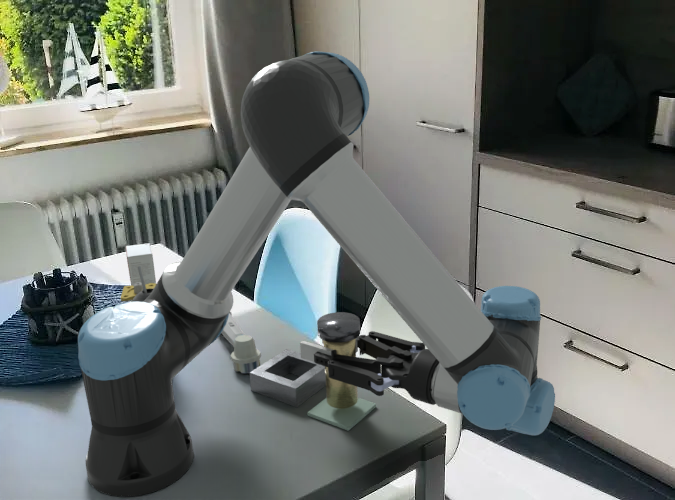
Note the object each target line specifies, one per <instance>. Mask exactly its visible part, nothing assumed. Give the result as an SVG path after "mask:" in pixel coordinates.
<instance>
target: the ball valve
mask: <svg viewBox="0 0 675 500" xmlns="http://www.w3.org/2000/svg"><path fill="white" fill-rule="evenodd" d="M156 284H157V282H156V283H149V284H145V286H146V289H154V287H155V286H156ZM142 290H143V287H142V283H140V282H137V283H135V284H134V286H132V285H131V284H130V285H124V286H123V288H122V292H121V295H120V301H121V302H132V301H133V298H134V297H135V296H136V295H137V294H138V293H139V292H140V291H142Z"/></svg>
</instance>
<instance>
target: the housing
mask: <svg viewBox="0 0 675 500" xmlns="http://www.w3.org/2000/svg"><path fill="white" fill-rule="evenodd" d="M288 374H292V375H294V376H298V378H296V379H295V380H291V379H288V378H286V377H285V376H286V375H288ZM249 382H250V391H251V392H254V393H257V394H260V395H262V396H264V397H268V398H269V399H273V400H276V401H279V402H281V403H284V404H287V405H290V406H291V407H292V406H293V407H295V408H298V407H299V406H301V405H303V404H304V402H306V401H307V400H309V399H310V398H312V396H314V395H315V394H316V393H318V392H320V391H321V390H322V389H324V388H326V379H325V366H322V365H319V364H316V363H315V362H313V361H310V360H306V359H303V358H301V352H298V351H294V350H291V349H287V348H286V349H285V350H283V351H281V352H280V353H278V354H276V355H275V356H273V357H272V358H270V359H268V360H267V361H266V362H263V363H262V364H260V366H259V367H258V368H256V369H254V370H253V371H251V372H250V373H249Z"/></svg>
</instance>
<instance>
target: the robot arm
mask: <svg viewBox="0 0 675 500" xmlns="http://www.w3.org/2000/svg"><path fill="white" fill-rule="evenodd" d="M369 107H370V91H369V87H368V83H367V81H366V78H365V76H364V75H363V73H362V71H361V70H360V69H359V68H358V67H357V65H356V64H355V63H354V62H353V61H351V60H350V59H348V58H347V57H345V56H343V55H342V54H341V55H340V54H338V53H335V52H329V51H310V52H307V53H305V54H303V55H300V56H296V57H293V58H291V59H284V60H280V61H276V62H273V63H271V64H269V65H266V66H265V67H263V68H262V69H261V70H260V71H258V72H257V73H256V74H255V75H254V76H253V77H252V78H251V80H250V81H249V83H248V84H247V85H246V88H245V90H244V93H243V95H242V99H241V105H240V120H241V127H242V130H243V134H244V136H245V139H246V141H247V143H248V146H249V148H248V149H247V150H246V152H245V154H244V156H243V158H242V159H241V161H240V163H239V164H238V166H237V167H236V169H235V171H234V172H233V175H232V176H231V177H230V179H229V181H228V183H227V184H226V186H225V188H224V190H223V191H222V193H221V195H220V196H219V198H218V199H217V201H216V203H215V205H214V207H213V208H212V209H211V211H210V213H209V215H208V216H207V217H206V220H205V221H204V224H203V225H202V226H201V228H200V230H199V232H198V233H197V235H196V236H195V238H194V240H193V241H192V243H191V245H190V246H189V248H188V250H187V252H186V253H185V255H184V257H183V258H182V260H181V261H177V262H173V263H171V264H169V265H167V266H166V267H165V269H164V270H163V272H162V274H161V276H160V277H159V279H158V281H156V286H155V287H154V289H153V291H152V292H151V294H150V295H149V296H148V297H147V298H146V299H145V300H144V301H143V302H139V301H133V302H131V301H123V302H121V303H117V304H115V306H111V307H110V306H108V307H105V308H103V309H101V310H99V311H98V312H96V313H94V314H93V315H92V316H90V317H89V318H88V319H87V320H86V321H85V322H84V323H83V324H82V326H81V327H80V329H79V331H78V335H77V345H78V346H77V349H78V357H77V358H78V363H79V364H78V365H79V367H80V370H81V374H82V376H81V377H82V381H83V386H84V391H85V397H86V402H87V407H88V412H89V417H90V421H91V422H90V423H91V431H90V437H89V441H88V443H89V444H88V451H87V452H86V457H85V468H86V469H85V470H86V475H87V479H88V482H89V484H90V485H91V487H92V488H94V489H95V490H97V491H98V492H100V493H102V494H105V495H108V496H114V497H121V498H122V497H123V498H124V497H136V496H143V495H148V494H151V493H154V492H157V491H160V490H162V489H165V488H167V487H168V486H170V485H172V484H173V483H175V482H176V481H178V480H179V479H181V478H182V477H183V476H184V475H185V474H186V473H187V472H188V470H189V469H190V467H191V466H192V464H193V462H194V456H195V454H194V453H195V452H194V445H193V440H192V437H191V434H190V433H189V431H188V429H187V427H186V425H185V423H184V421H183V420H182V418H181V416H180V415H179V413H178V411H177V408H176V401H175V396H174V389H173V388H174V386H173V379H174V378H175V377H176V376H177V375H179V373H180V372H182V370H184V369H185V367H187V365H189V364H190V363H191V362H192V361H193V360H194V359H196V357H197V356H199V355H200V353H202V352H203V351H204V350H205V349H206V348H207V347H209V346H210V345H211V344H213V343H214V342H215V341H216V340H217V339H219V336H221V335H222V333H221V332H222V331H223V329H224V327H225V325H226V323H227V321H228V317H229V312H232V309H233V306H234V295H233V292H232V290H233V289H234V288H235V286H236V284H238V282H239V280H240V279H241V277H242V276H243V275H244V273H245V271H246V270H247V268H248V267H249V265H250V264H251V262H252V260H253V259H254V258H255V256H256V254H257V253H258V251H259V250H260V248H261V247H262V245H263V243H264V242H265V241H266V239H267V238H268V236H269V235H270V233H271V231H272V230H273V228H274V227H275V225H276V224H277V222H278V221H279V219H280V218H281V217H282V215H283V213H284V212H285V210H286V209H287V207H288V206H289V204H290V203H291V201H300V202H301V203H303V204H304V205H305V206H306V208H308V210H309V212H311V214H312V215H313V216H314V217H315V218H316V220H318V221H319V223H320V224H321V225H322V226H323V227H324V228H325V229H326V231H327V232H328V233H329V235H330V236H331V237H332V238H333V239H334V240H335V242H336V243H337V244H338V245H339V246H340V248H341V249H342V250H343V252H345V253H346V254H347V255H348V256H349V258H350V259H351V261H352V262H353V263H354V264H355V265H356V266H357V267H358V269H359V270H360V271H361V272H362V273H363V275H364V276H366V278H367V279H368V280H369V281H370V282H371V284H372V285H373V286H374V287H375V288H376V289H377V291H378V292H379V293H380V294H381V295H382V297H383V298H384V299H385V300H386V301H387V303H389V305H390V306H391V307H392V309H393V310H394V311H395V312H396V313H397V314H398V315H399V317H400V318H401V319H402V320H403V321H404V322H405V324H406V325H407V326H408V327H409V328H410V329H411V331H413V333H414V334H415V336H416V337H418V339H419V340H420V341H421V342H420V341H419V342H418V341H410V340H406V339H403V338H400V337H399V338H398V337H396V336H392V335H389V334H384V333H380V332H377V331H373V330H371V331H369V332H368V334H367V335H366V334H361V335H359V336H358V337H357V338H355V342H356V353H357V352H358V351H359V356H362V355H367V356H368V357H371V358H366V357H359V356H358V357H357V356H356V357H353V356H346V355H339V354H337V351H336V350H333V349H329V348H326V347H324V343H323V340H322V339H321V340H322V344H323V345H320V344H319V345H318V344H316V343H313V342H309V341H305V340H302V341H300V343H299V344H300V345H299V348H300V353H301V358H303V359H306V360H310V361H313V362H315V363H316V364H319V365H322V366H326V367H328V375H329V378H331V379H335V380H338V381H341V382H344V383H347V384H350V385H354V386H357V388H360V389H363V390H367V391H370V392H371V393H373V394H374V395H376V396H378V397H382V396H384V395H385V392H384V391H385V390H386V389H388V388H390V387H391V388H393V389H402V390H403V389H404V390H405V391H406V392H407V393H408V394H409V396H410V397H411V398H412V399H413V400H416V401H419V402H422V403H425V404H428V405H432V406H434V405H436V406H438V408H442V409H445V410H448V411H451V412H455V413H459V414H460V415H461V414H462V415H463V416H464V418H465V419H466V420H468V421H469V422H470V423H471V424H473V425H475V426H476V427H479V428H481V429H484V430H491V431H493V430H494V431H497V430H498V431H499V430H506V431H512V432H517V433H520V434H524V435H529V436H539V435H541V434H543V433H544V431H545V430H546V429H547V427H548V425H549V423H550V422H551V419H552V415H553V412H554V409H555V403H556V392H555V387H554V385H553V383H551V382H550V381H547V380H545V379H543V378H541V377H538V365H537V364H538V353H539V344H540V343H539V341H540V328H541V327H540V326H541V320H542V316H541V300H540V297H539V296H538V295H537V294H536V293H535V292H534V291H532V290H530V289H528V288H525V287H522V286H515V285H500V286H495V287H492V288H490V289H488V290H486V291H485V292H484V293H483V295H482V296H481V303H480V304H481V305H480V308H479V307H478V305H477V304H476V303H475V301H474V300H472V298H471V297H470V295H468V293H467V292H466V291H465V290H464V288H463V287H461V285H460V284H459V283H458V282H457V280H456V279H455V278H454V277H453V276H452V274H451V273H450V272H449V271H448V270H447V268H446V267H445V266H444V265H443V263H442V262H441V261H440V260H439V259H438V257H436V255H435V254H434V253H433V252H432V251H431V249H429V247H428V246H427V245H426V244H425V242H424V241H423V240H422V238H420V236H419V235H418V234H417V233H416V231H415V230H414V229H413V228H412V227H411V226H410V224H409V223H408V222H407V221H406V220H405V218H404V217H403V216H402V214H400V212H399V211H398V210H397V209H396V208H395V206H394V205H393V204H392V203H391V201H390V200H389V198H387V197H386V196H385V194H384V193H383V191H381V190H380V188H379V187H378V186H377V184H375V183H374V181H373V180H372V179H371V178H370V176H369V175H368V174H367V173H366V172H365V171H364V169H363V168H362V167H361V165H360V164H359V163H358V162H357V161H356V159H354V144H353V142H352V141H351V140H350V138H348V137H349V136H351V135H353V134H354V133H355V132H356V131H358V130H359V129H360V128H361V126H362V124H363V122H364V121H365V119H366V117H367V114H368V111H369ZM372 358H373V359H372Z"/></svg>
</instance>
